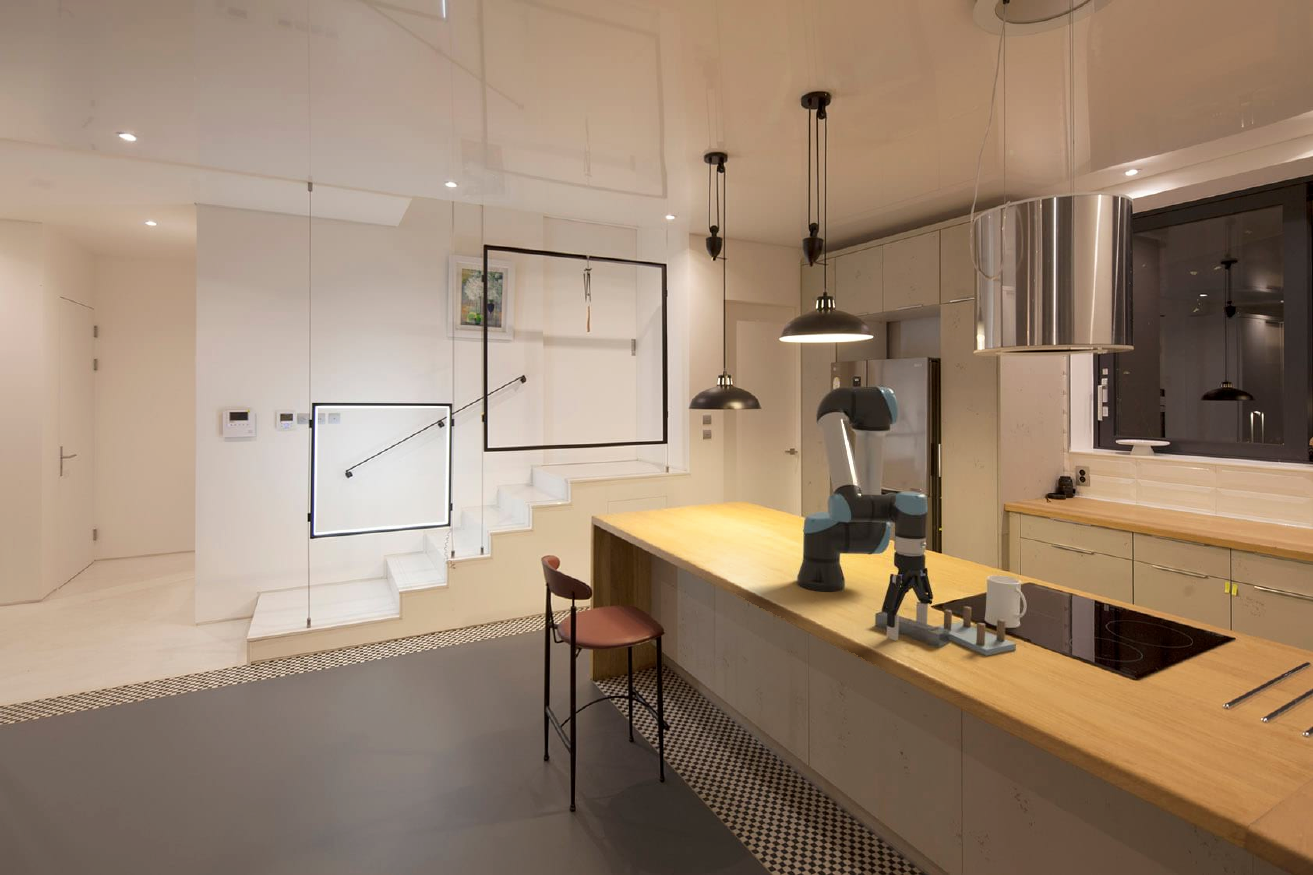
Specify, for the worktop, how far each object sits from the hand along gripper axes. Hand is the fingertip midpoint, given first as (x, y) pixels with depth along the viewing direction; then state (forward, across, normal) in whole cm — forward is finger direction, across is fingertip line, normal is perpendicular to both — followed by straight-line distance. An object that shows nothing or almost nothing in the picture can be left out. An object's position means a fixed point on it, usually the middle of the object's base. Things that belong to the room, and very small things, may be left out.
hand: (907, 633), depth 163 cm
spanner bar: (0, 0, 0) cm, 0 cm away
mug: (0, +28, -12) cm, 30 cm away
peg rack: (0, +9, -13) cm, 16 cm away
